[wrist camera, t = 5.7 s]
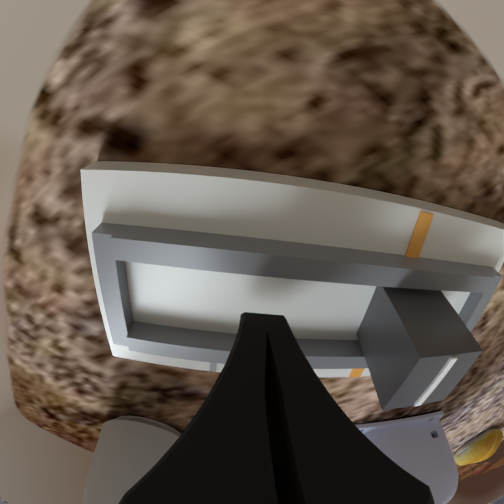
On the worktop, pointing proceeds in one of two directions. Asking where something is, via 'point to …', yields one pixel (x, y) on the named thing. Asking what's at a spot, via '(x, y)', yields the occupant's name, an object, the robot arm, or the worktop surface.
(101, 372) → the worktop surface
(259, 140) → the worktop surface
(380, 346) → the fader
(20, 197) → the worktop surface
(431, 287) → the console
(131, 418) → the can
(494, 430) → the bread roll
